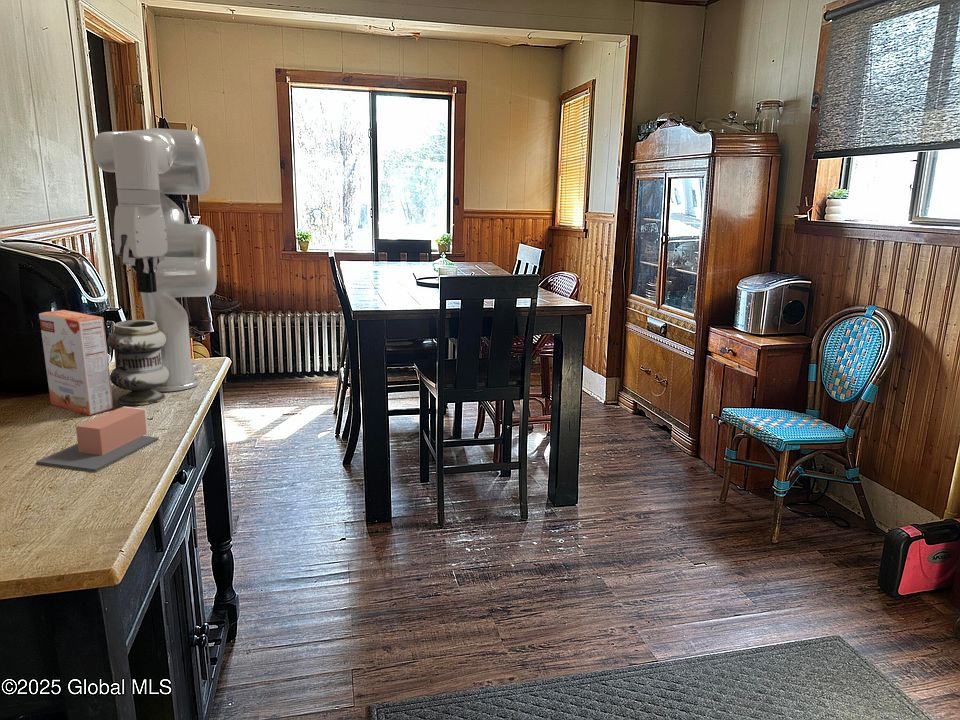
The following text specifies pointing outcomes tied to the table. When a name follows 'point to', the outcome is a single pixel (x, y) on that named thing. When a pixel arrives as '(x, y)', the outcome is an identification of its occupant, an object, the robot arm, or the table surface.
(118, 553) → the table surface
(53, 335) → the cracker box
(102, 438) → the salmon pink block
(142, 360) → the apothecary jar
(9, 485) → the table surface
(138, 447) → the mat
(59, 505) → the table surface
